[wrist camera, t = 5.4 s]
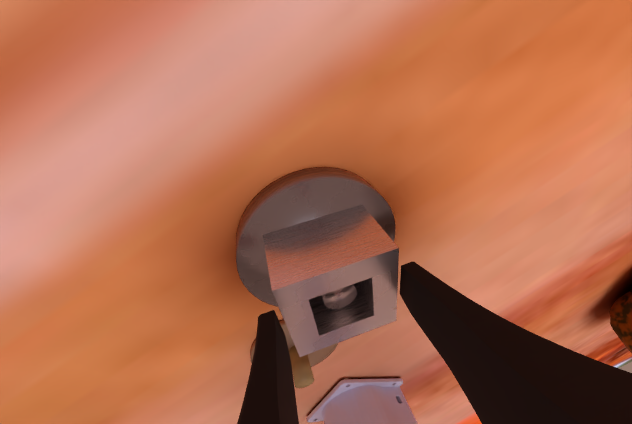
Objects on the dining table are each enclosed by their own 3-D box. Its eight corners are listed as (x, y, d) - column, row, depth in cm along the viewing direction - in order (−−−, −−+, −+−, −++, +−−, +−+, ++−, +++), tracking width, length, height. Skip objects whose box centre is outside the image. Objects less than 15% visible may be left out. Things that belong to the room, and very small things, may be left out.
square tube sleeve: (362, 204, 13) (398, 247, 10) (366, 272, 16) (396, 320, 13) (262, 234, 12) (272, 290, 9) (287, 299, 15) (299, 357, 12)
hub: (409, 200, 16) (463, 246, 12) (335, 298, 19) (360, 358, 15) (279, 137, 11) (302, 178, 8) (212, 277, 15) (205, 353, 11)
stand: (353, 319, 21) (369, 354, 19) (311, 369, 24) (321, 405, 21) (274, 308, 18) (281, 350, 15) (236, 368, 20) (236, 412, 18)
